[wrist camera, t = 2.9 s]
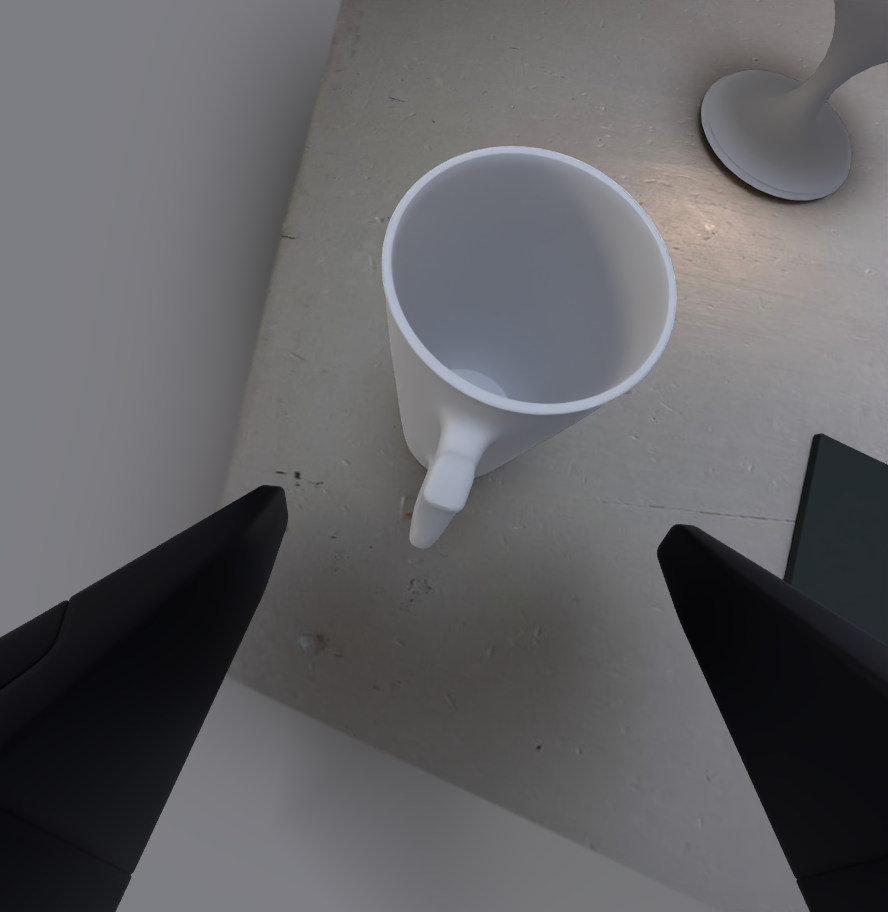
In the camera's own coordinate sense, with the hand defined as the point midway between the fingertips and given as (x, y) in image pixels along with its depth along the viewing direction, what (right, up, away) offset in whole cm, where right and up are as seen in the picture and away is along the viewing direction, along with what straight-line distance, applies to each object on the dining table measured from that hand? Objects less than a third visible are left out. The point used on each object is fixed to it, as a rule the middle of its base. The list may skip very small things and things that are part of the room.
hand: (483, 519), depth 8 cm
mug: (-1, +2, +11) cm, 11 cm away
